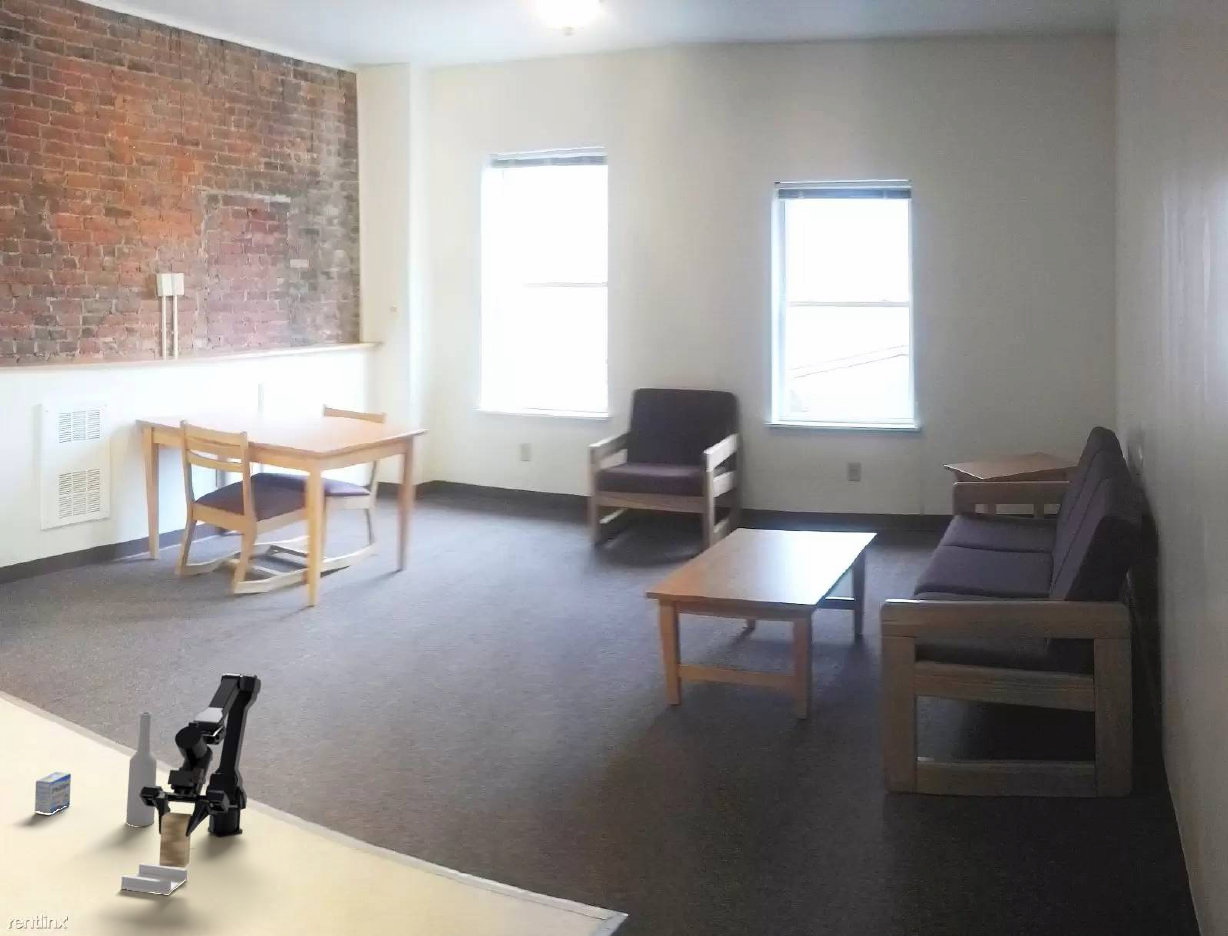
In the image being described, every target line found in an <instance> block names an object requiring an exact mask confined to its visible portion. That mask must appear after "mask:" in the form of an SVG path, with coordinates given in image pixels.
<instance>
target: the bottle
mask: <svg viewBox="0 0 1228 936" xmlns="http://www.w3.org/2000/svg"><path fill="white" fill-rule="evenodd" d="M152 714H153V713H152V712H150V711H142V712H140V713H139V716H140V720H139V732H138V733H139V735H138V743H137V750H136V752H135V753H134V754H133V755H132V757H131V758H130V759H129V765H128V766H129V768H128V783H127V785H128V786H127V802H126V803H127V804H126V819H125V820H126V821H125V822H127V823H128V824H130V825H133V826H145V827H149V826H152V825H153V824H154V823H155V810H156V807H148V806H146V805H145V804H144V803H143V801H142V799H141V797H140V796H139V795H140V792H141V789H142V788H143V787H144V786H145V785H154V786H157V783H156V782H157V765H158V764H157V761H158V760H157V756H155V754H154V753H153V752H152V751H151V736H150V735H151V719H152V718H151V716H152ZM153 822H154V823H153ZM152 823H153V824H152ZM148 825H149V826H148Z"/></svg>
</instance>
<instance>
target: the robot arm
mask: <svg viewBox="0 0 1228 936" xmlns="http://www.w3.org/2000/svg"><path fill="white" fill-rule="evenodd" d="M261 687H262V681H261V679H260V678H258V675H257V674H249V673H248V674H247V673H236V672H235V673H233V672H231V673H230V672H227V673H222V676H221V677H220V684H219V686H218V687H217V690H216V691H215V693H214V695H213V697H212V699H211V701H210V702H209V704H208V706H207V708H206V710H204V711H201V712H200V713H197V715H196V716H195V717H194V719H193V720H192V721H189V722H188V725H187V726H185V727H182V728H181V729H180V730H178V732H177V733H175V736H174V740H175V741H174V742H175V745H176V746H177V749H178V751H179V753H180V754H181V756H182V758H183V759H184V760H183V762H182V765H181V766H180V767H179V768H178V769H170V770H169V776H168V780H167V785H170V790H173V792H169V791H164V789H163V787H162V786H161V785H156V786H154V785H145V786H144V787H143V788H142V789H141V792H140V795H139V796H140V797H141V799H142V801H143V803H144V804H145V805H146V806H148V807H155V810H156V811H157V813H158V834H159V835H160V836H161V821H162V816H163V815H164V814H166V813H167V812H172V811H171V808H170V806H169V804H170V803H171V802H174V803H185V804H186V803H187V804H194V806H193V807H194V808H193V812H192V813H191V814H192V816H191V819H190V822H189V824H188V827H187V831H186V834H185V835H186V837H188V836H189V835H190V834H191V835H192V833H193V832H194V831H195V829H196V828H197V827H198V826H199V825H200V824H201V823H202V822H203V821H205V819H207V817H208V818H209V819H208V820H209V822H208V826H207V830H208V831H209V832H210V833H212V834H213V835H215V836H216V837H218V838H221V837H226V836H230V835H235V834H240V833H243V830H244V829H243V828H241V826H240V825H241V813H242V810H245V809H247V802H248V800H247V799H248V795H247V793H246V791H245V788H244V786H243V783H244V780H243V777H242V775H241V771H240V770H239V766H240V759H241V756H242V755H241V754H242V747H243V743H244V737H245V732H246V731H245V730H246V724H247V718H248V713H249V710H250V709H251V707H253V705H254V704H255V703H256V701H257V699H258V694H259V693H260V691H261ZM226 717H227V720H226ZM225 720H226V725H225ZM221 742H222V749H221V755H220V760H219V764H218V765H219V767H218V768H217V769H216V770H214V772H212V773H211V775H210V776H209V783H208V784H207V786H206V789H205V794H202V790H203V786H204V785H206V783H207V779H206V777H207V774H208V771H209V768H210V765H211V762H212V761H213V759H214V752H213V750H212V748H211V747H210V746H211V745H213V746H219V745H220V744H221ZM209 745H210V746H209Z"/></svg>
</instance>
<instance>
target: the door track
mask: <svg viewBox="0 0 1228 936" xmlns="http://www.w3.org/2000/svg"><path fill="white" fill-rule="evenodd" d="M138 865H139V866H138V873H137V874H135V875H128V874H124V875H122V876H121V886H120V890H122V889H128V890H132V891H131V892H135V891H140V892H139V893H142V892H155V893H161V894H169V893H170V892H171V891H172V890H173V889H174V888H176V887H177V886H178V885H179V884H180V883H181V882H183V881H184V880H185V879H187V880H188V868H185V867H184V868H182V867H169V866H159V864H155V863H147V862H140V863H139V864H138ZM128 890H127V891H128Z"/></svg>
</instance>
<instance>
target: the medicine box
mask: <svg viewBox="0 0 1228 936" xmlns="http://www.w3.org/2000/svg"><path fill="white" fill-rule="evenodd" d="M71 779H72V774H71V773H68V772H63V771H56V772H54V773H51V774H49V775H47V776H44V777H42V778H39V779H38V780H36V781H35V794H34V796H35V799H34V800H35V801H34V812H35V811H40V812H43V813H53V812H54V811H56V810H57V809H61V808H63V807H64V806H68V805H69V806H70V804H71ZM69 806H68V807H69Z"/></svg>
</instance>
